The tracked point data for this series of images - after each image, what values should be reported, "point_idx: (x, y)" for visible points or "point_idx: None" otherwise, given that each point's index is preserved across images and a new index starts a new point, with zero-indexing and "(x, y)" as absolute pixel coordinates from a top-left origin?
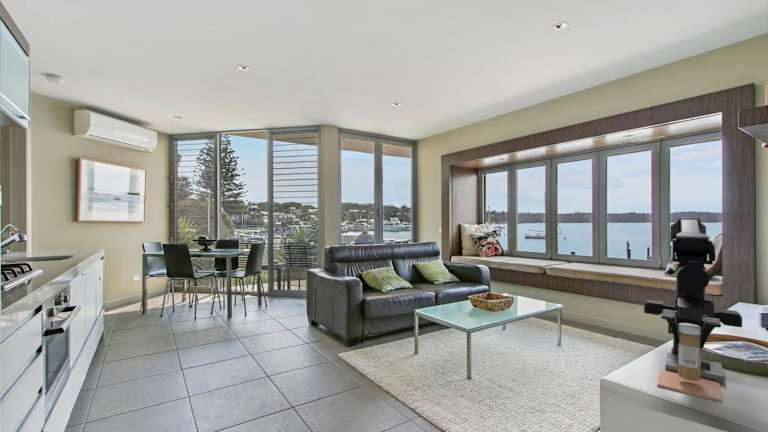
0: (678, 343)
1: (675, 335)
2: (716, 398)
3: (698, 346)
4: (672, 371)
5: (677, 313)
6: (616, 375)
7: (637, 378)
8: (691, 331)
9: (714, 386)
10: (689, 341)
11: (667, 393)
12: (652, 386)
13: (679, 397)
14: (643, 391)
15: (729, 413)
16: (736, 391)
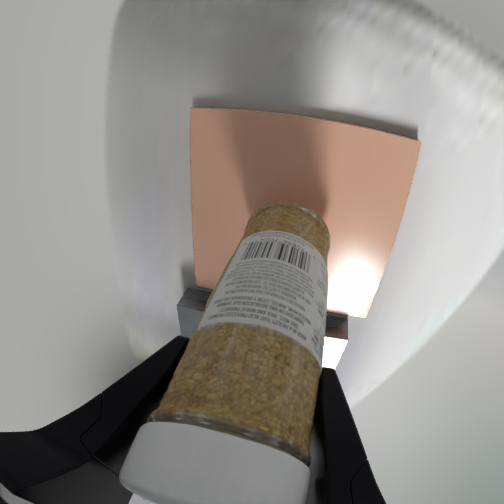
0: (323, 371)
1: (344, 428)
2: (207, 108)
3: (192, 341)
4: (326, 320)
5: None
6: None
7: (472, 196)
8: (190, 460)
9: (208, 240)
10: (243, 367)
11: (388, 73)
12: (436, 128)
13: (345, 53)
14: (471, 53)
15: (183, 15)
16: (158, 250)
